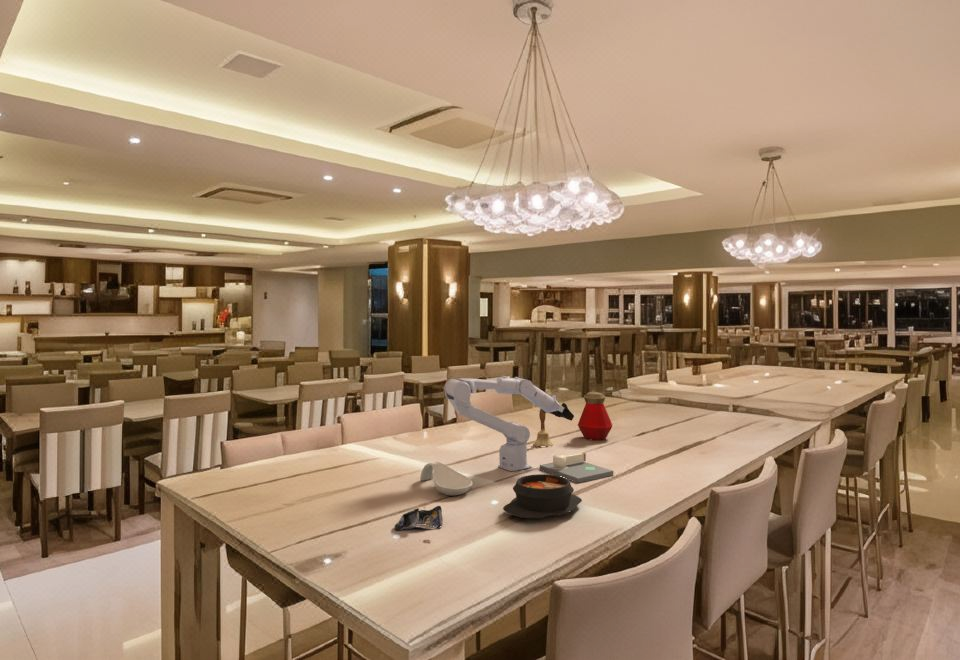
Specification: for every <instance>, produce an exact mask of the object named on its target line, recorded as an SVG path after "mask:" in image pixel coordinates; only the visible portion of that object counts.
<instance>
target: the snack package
mask: <svg viewBox="0 0 960 660" xmlns="http://www.w3.org/2000/svg"><path fill="white" fill-rule="evenodd" d="M442 510H443V509H442V506H441V505H437V506H435V507H433V508H432V509H430V510H429V509H428V510H426V507H423V509H421V510H420V508H419V507H418V508H415V509H413V510H410V511H408V512H406V513H403V514H402V515H401V516H400V519H399V521H398V522H397V523H396V524H394V530H398V531H402V530H403V529H406V530H411V529H412V530H413V529H415V528H417V529H425V528H426V527H424V526H423V525H419V526H417V525H414V524H426V525H429V526H428V527H430V526H432V527H431V528H434V527H440V526H441V527H440V528H439V529H441V528H442V526H443V521H444V520H443V519H444V518H443V514H442V513H443V512H442ZM433 526H434V527H433ZM403 531H404V530H403Z"/></svg>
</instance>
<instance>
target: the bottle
mask: <svg viewBox="0 0 960 660" xmlns="http://www.w3.org/2000/svg"><path fill="white" fill-rule="evenodd" d="M583 399H584V402H585V404H584V408H583V410H582V412H581V415H580V418H579V420H578V423H577V427H578V428H579V430H580V432H581V434H582V436H583V438H584V439H585V438H587V439H586V440H589V439H592V440H591V441H604V439H605V440H606V439H607V437H608V435H609V433H610V432H611V431H612V428H613V423H612V420H611V418H610V416H609V415H610V414H609V413H608V411H607V409H606V406H605V404H604V402H605V399H606V396H605V395H604V393H602V392H597V391H595V392H594V391H593V392H592V391H591V392H587V393H586V394H584V395H583Z"/></svg>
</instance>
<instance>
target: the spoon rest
mask: <svg viewBox="0 0 960 660" xmlns="http://www.w3.org/2000/svg"><path fill="white" fill-rule="evenodd" d="M432 479H433V483H434V486H435V487H436V490H438V491H439V492H440V493H441V494H443V495H445V496H451V497H453V496H455V495H456V496H460V495H463V494H465V493H467V492H468V491H470V489H471V488H472V486H473V481H472V479H470V478H469V477H468V476H466V475H464V474H462V473H460V472H458V471H457V470H454V469H453V468H451V467H449V466H448V465H446V464H445V463H442V462H439V461H437V462H436V461H434V462H432V463H431V462H429V463H427V464H425V465H424V467H423V468H422V470H421V473H420V481H429V480H432Z"/></svg>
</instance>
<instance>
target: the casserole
mask: <svg viewBox="0 0 960 660" xmlns="http://www.w3.org/2000/svg"><path fill="white" fill-rule="evenodd" d="M570 481H571V480H569V479H566V478H563V477H560V476H557V475H554V474H543V473H541V474H528V475H524V476H521V477H519V478H517V480H516V481H515V485H514V486H513V487H512V490H513V492H514V493H515V497H514V498H513V499H512V500H511V501H510V502H509V503H507V504H505V505H504V506H503V507H502V510H503V511H504V512H506V514H507V513H508V514H510V515H511V516H515V517H517V518H523V519H531V520H532V519H539V518H553V517H558V516H561V515H565V514H569V513H571V512H573V511H574V510H576V508H577V507H578V505H579V504H580V503H582V502H583V499H582V498H581V497H580V496H578V495H575V494H573V493H574V490H575V489H574V487H573V486H572V485H571V482H570Z"/></svg>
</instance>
